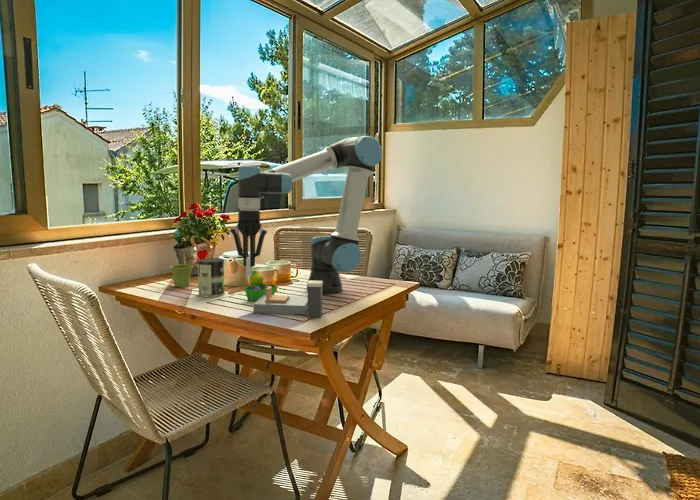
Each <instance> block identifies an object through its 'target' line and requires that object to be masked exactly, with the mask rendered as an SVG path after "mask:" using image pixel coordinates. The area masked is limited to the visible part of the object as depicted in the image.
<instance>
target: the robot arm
mask: <svg viewBox="0 0 700 500" xmlns="http://www.w3.org/2000/svg"><path fill="white" fill-rule="evenodd" d="M382 148H383V147H382V145H381V144H380V142H379V140H377V138H375V137H373V136H370V135H360V136H354V137H347V138H344V139H342V140H340V141H337V142H336V143H332V144H330V145H329V146H326V147H324V148H323V150H322V151H319V152H316V153H313V154H311V155H307V156H305V157H302V158H299V159H295V160H293V161H290V162H288V163H285V164H283V165H279V166H277V167H274V168H271V169H268V170H265V171H261V167H260V166H258V165H255V166H254V165H241V166H239V168H238V175H237V176H238V177H237V180H238V181H237V183H238V198H237V199H238V209H239V210H238V213H237V214H238V222H237V225H236V227H234V228H232V229H230V232H231V233H232V235H233V237H234V238H233V239H234V242H235V247H236V250H237V255H238V256H240V257H242V258H243V260H242V262H243V263H242V264H243V267H245V277H250V276H251V275H252V270H253V267H255V265H256V261H255V260H256V257H258V256H260V255H261V252H262V248H263V244H264V240H265V236H266V234H267V233H268V230H267V229H264V228H263V227H262V224H261V211H260V209H261V194H275V195H276V194H280V195H283V194H289V193H291V191H292V190H293V187H294V186H293V185H294V184H293V183H294V182H296V181H299V180H302V179H305V178H307V177H310V176H312V175H315V174H318V173H320V172H323V171H326V170H329V169H330V170H336V169H339V168H344V169H345V170H346V178H345V181H344V187H343V193H342V197H341V203H340V205H339V212H338V216H337V223H336V227H335V231H334V232H332V233H331V234H330V235H329V236H328V235H325V236H314V237H312V238H311V241H310V274H309V277H308V279H307V283H308V282H309V280H314V281H323V285H322V294H334V293H340V292H342V291H343V283H342V280H341V277H340V274H339V272H340V273H341V272H343V273H348V272H352V271H354V269H357V267H358V266H359V264H360V263H361V261H362V250H361V248H360V247H359V244H360V239H359V238H358V229H359V225H360V219H361V215H362V209H363V205H364V201H365V195H366V190H367V187H368V186H367V185H368V180H369V177H370V176H371V175H373V174H374V170H375V166H377V165H378V164H379V163H380V162H381V161H382V157H383V149H382ZM239 232H240V233H241V235H242V241H241V238H240V233H239ZM258 233H259V234H260V235H259V238H258V241H257V245H256V235H257V234H258ZM249 241H250V242H249ZM249 244H250V246H249ZM307 283H306V284H307ZM306 291H307V292H308V287H307V286H306Z"/></svg>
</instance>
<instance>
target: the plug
mask: <svg viewBox="0 0 700 500" xmlns="http://www.w3.org/2000/svg"><path fill="white" fill-rule="evenodd" d="M307 282H308V281H307ZM322 285H323V281H314V280H309V282H308V283H306V288H307V287H308V291H307V297H308V309H307V318H308V319H321V318H322V316H323V293H322Z"/></svg>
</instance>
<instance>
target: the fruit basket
mask: <svg viewBox="0 0 700 500" xmlns="http://www.w3.org/2000/svg"><path fill="white" fill-rule="evenodd" d="M248 281H249V284H250V285H249V286H245V287H244V288H243V289H244V292H245V295H246V299H247V301H249V302H254V303H255V302H256V301H257V300H259V299H260V298H261V297H262V296H263V295H266V289H267V288H268V287H269V286H272V295H275V292H276V289H277V285H276V284H272V283H266V282H265V283H264V277H263V275H262V274H261V273H260V272H259V271H257V270H256V269H252V275H251V276H249V280H248Z"/></svg>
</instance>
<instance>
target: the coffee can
mask: <svg viewBox="0 0 700 500" xmlns="http://www.w3.org/2000/svg"><path fill="white" fill-rule="evenodd" d="M196 262H197V279H198V280H197V282H198V284H197V285H198V296H199V297H201V298H213V297H214V298H215V297H216V298H218V297H221V296H222V297H223V296H224V295H225V294H226V293H225V266H224V264H225V260H224V258H217V257H216V258H215V257H214V258H213V257H208V258H201V259H198V260H197V261H196Z"/></svg>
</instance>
